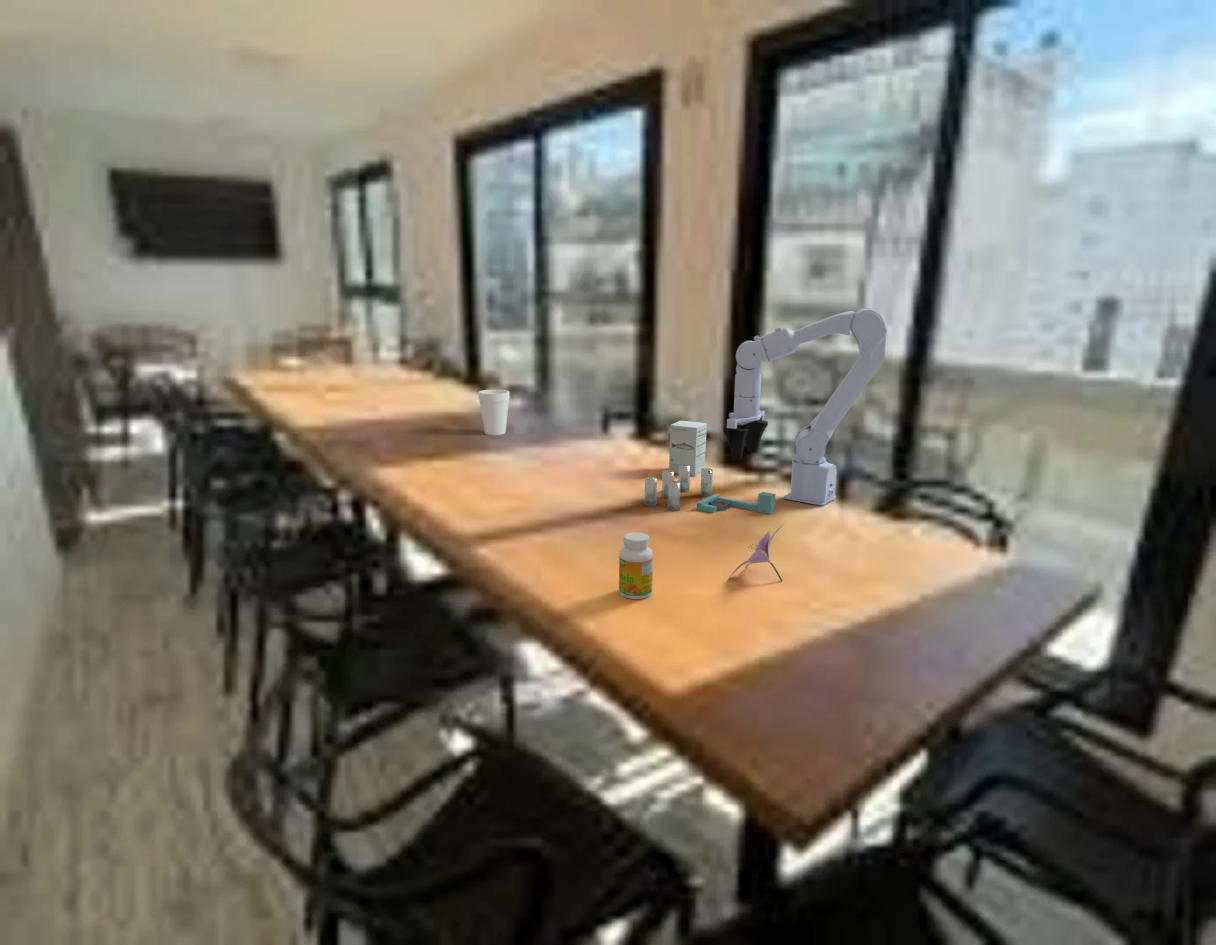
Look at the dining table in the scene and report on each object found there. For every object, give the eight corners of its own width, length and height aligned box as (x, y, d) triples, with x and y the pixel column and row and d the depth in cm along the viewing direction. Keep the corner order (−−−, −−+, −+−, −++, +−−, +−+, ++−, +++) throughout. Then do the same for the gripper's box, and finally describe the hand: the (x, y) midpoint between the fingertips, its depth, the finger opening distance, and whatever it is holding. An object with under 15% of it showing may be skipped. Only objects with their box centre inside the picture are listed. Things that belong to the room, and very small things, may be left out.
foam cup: (474, 434, 248) (473, 393, 244) (487, 429, 256) (486, 388, 253) (503, 436, 245) (501, 394, 242) (515, 431, 254) (514, 390, 250)
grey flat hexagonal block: (732, 508, 175) (732, 501, 175) (722, 513, 172) (722, 506, 171) (716, 504, 178) (716, 498, 177) (706, 509, 174) (706, 503, 174)
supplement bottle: (611, 593, 129) (612, 536, 127) (634, 584, 133) (635, 528, 130) (636, 602, 125) (637, 544, 123) (659, 593, 129) (660, 536, 127)
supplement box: (667, 473, 203) (669, 424, 200) (679, 467, 209) (680, 419, 206) (695, 477, 200) (696, 427, 197) (705, 470, 206) (707, 422, 203)
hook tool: (774, 511, 172) (775, 494, 171) (756, 521, 165) (757, 503, 164) (716, 500, 180) (716, 483, 179) (696, 509, 173) (697, 491, 172)
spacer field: (713, 494, 184) (714, 469, 183) (675, 511, 172) (676, 484, 170) (681, 488, 189) (682, 463, 188) (642, 504, 176) (642, 478, 175)
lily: (777, 567, 143) (752, 520, 143) (821, 562, 133) (795, 512, 132) (730, 602, 138) (705, 553, 137) (773, 599, 127) (745, 546, 127)
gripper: (746, 390, 187) (743, 446, 190) (715, 398, 176) (713, 458, 179) (774, 392, 183) (770, 450, 186) (744, 401, 171) (741, 462, 175)
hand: (744, 454), depth 182 cm, fingers open, 7 cm apart
